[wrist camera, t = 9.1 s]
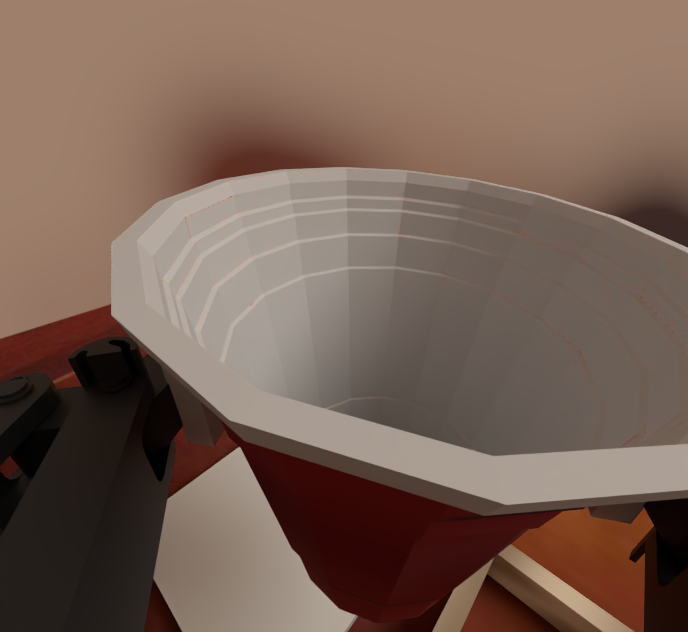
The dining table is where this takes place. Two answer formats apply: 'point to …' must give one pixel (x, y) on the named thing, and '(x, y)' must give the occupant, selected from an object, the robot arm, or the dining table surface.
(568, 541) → the dining table surface
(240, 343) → the plastic cup
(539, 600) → the birch collar
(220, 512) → the white tile
